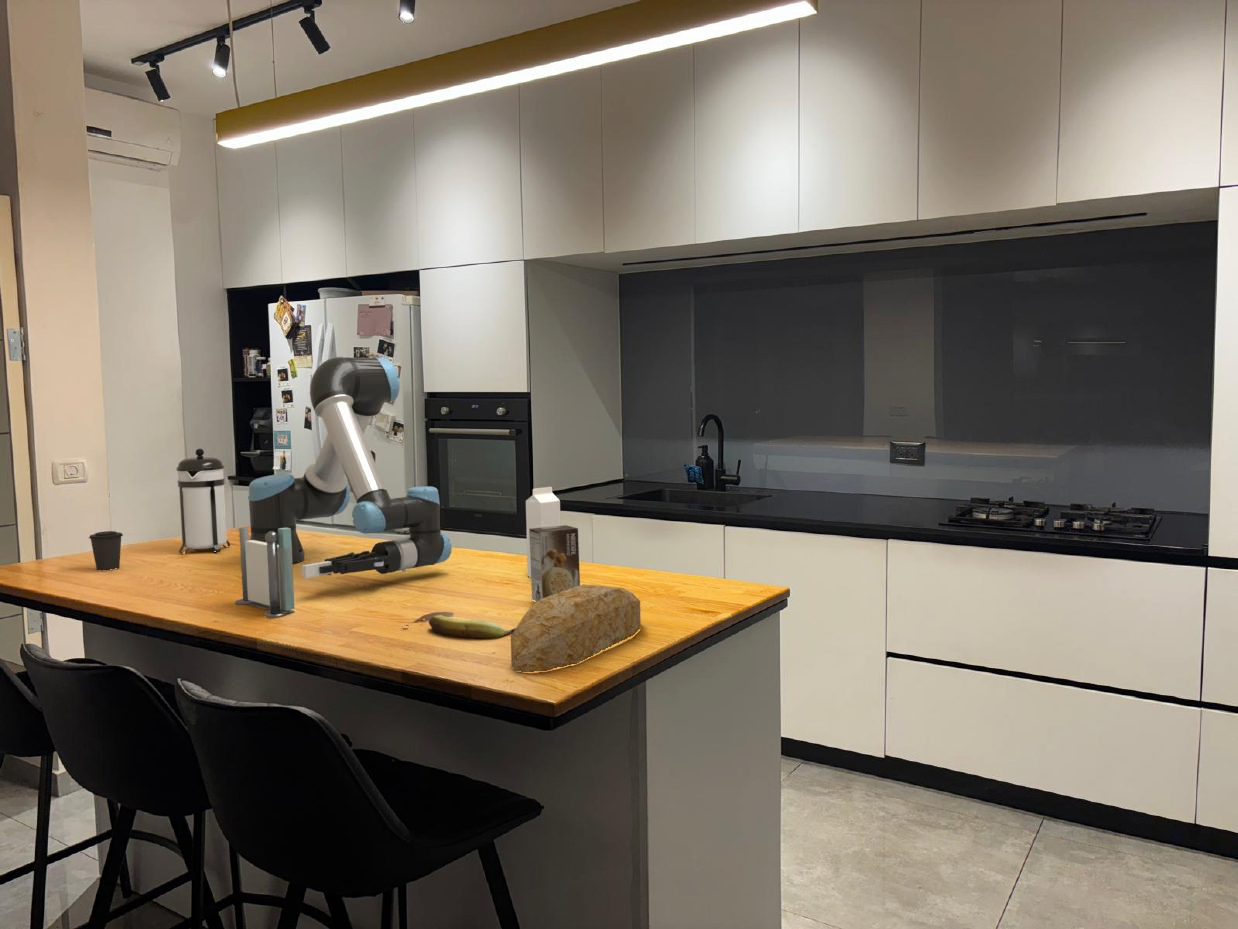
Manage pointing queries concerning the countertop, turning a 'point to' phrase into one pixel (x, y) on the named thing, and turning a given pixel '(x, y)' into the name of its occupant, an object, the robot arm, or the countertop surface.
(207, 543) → the coffee press
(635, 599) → the bread
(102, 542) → the coffee cup
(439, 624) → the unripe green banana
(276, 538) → the post
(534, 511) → the milk
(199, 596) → the countertop surface
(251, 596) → the gate
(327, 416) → the robot arm
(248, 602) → the sill
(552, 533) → the coffee box
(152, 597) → the countertop surface
